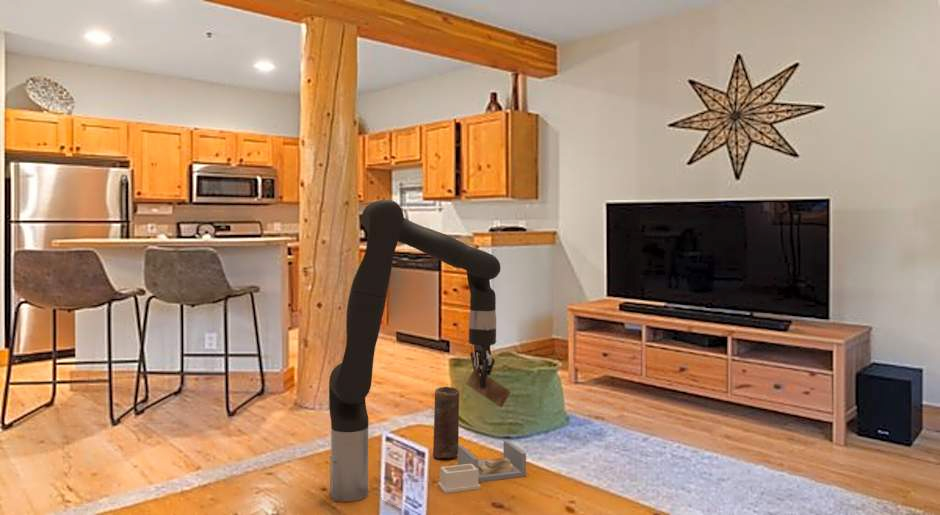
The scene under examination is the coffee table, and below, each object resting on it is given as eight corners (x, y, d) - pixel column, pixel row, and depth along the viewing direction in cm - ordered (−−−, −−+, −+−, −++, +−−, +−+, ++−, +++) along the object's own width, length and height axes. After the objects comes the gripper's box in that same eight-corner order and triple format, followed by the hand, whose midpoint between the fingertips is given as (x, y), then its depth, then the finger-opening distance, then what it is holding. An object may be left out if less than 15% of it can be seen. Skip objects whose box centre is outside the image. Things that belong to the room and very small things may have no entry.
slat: (501, 407, 179) (468, 385, 176) (498, 406, 181) (465, 383, 178) (511, 392, 180) (478, 369, 177) (508, 390, 182) (475, 368, 179)
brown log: (458, 452, 194) (458, 386, 194) (459, 460, 187) (459, 391, 187) (433, 453, 194) (433, 386, 194) (433, 461, 187) (433, 392, 186)
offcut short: (489, 468, 172) (489, 463, 172) (485, 465, 175) (485, 459, 175) (510, 465, 175) (510, 460, 175) (505, 462, 177) (505, 457, 177)
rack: (473, 482, 170) (473, 459, 169) (457, 467, 182) (457, 445, 182) (526, 476, 174) (526, 453, 174) (507, 461, 187) (507, 439, 187)
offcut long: (482, 475, 172) (482, 469, 172) (478, 471, 175) (478, 465, 175) (513, 471, 175) (513, 465, 175) (509, 467, 178) (509, 462, 178)
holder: (444, 493, 162) (444, 474, 162) (437, 485, 168) (437, 466, 168) (480, 488, 165) (480, 470, 165) (472, 480, 171) (472, 462, 171)
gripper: (461, 324, 183) (460, 385, 183) (478, 329, 170) (477, 395, 171) (486, 323, 186) (485, 384, 186) (504, 329, 173) (503, 393, 173)
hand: (481, 389), depth 178 cm, fingers closed, pressing on slat
